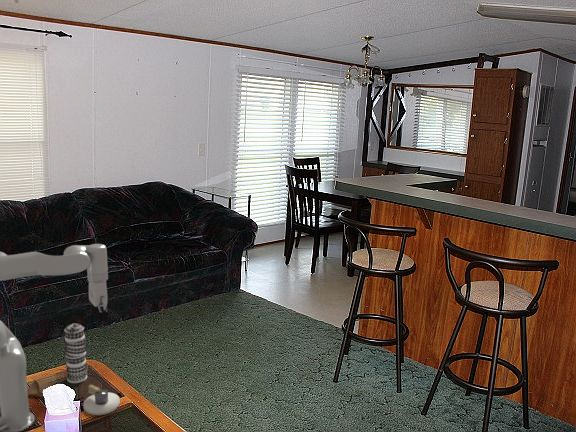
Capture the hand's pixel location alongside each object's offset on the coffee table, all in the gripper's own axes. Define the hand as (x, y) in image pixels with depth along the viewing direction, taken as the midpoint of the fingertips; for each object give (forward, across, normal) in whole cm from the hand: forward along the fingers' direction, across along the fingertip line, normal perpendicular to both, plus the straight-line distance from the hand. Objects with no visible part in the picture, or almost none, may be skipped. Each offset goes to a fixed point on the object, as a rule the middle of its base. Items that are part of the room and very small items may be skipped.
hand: (99, 316), depth 217 cm
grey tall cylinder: (+37, -22, -5) cm, 44 cm away
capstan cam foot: (+35, +2, -3) cm, 36 cm away
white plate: (+37, +4, -2) cm, 37 cm away
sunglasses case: (+38, -16, -19) cm, 45 cm away
